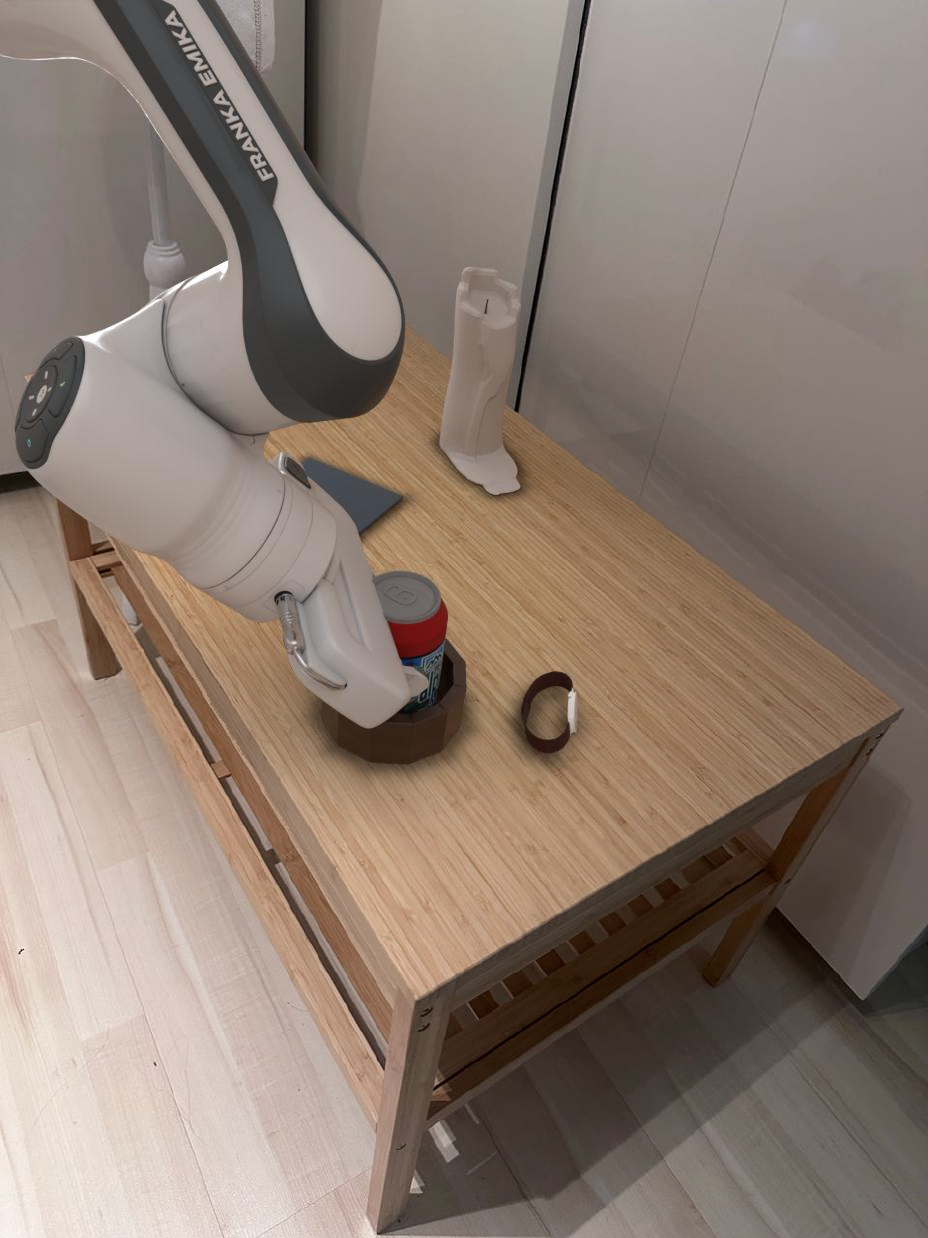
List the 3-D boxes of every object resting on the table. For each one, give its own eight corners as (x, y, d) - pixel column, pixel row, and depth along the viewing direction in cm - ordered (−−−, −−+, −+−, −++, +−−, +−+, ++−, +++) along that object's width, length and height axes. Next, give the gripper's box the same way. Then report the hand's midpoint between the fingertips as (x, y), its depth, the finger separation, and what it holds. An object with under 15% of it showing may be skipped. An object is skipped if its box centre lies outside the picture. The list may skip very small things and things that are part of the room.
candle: (478, 498, 93) (507, 316, 80) (429, 434, 102) (448, 261, 89) (537, 489, 95) (574, 312, 82) (484, 428, 105) (510, 259, 92)
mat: (237, 509, 86) (237, 505, 86) (309, 460, 94) (309, 456, 94) (337, 554, 83) (337, 550, 82) (402, 499, 91) (403, 495, 91)
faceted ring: (294, 722, 66) (294, 681, 63) (371, 644, 74) (374, 604, 71) (414, 786, 63) (420, 746, 60) (482, 697, 71) (490, 658, 68)
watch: (572, 765, 66) (582, 734, 64) (512, 752, 67) (520, 721, 64) (579, 695, 72) (588, 664, 70) (524, 683, 72) (531, 652, 70)
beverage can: (402, 756, 65) (416, 640, 57) (331, 715, 67) (335, 597, 59) (450, 704, 70) (469, 590, 62) (382, 667, 72) (392, 552, 64)
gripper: (332, 630, 47) (479, 725, 56) (282, 437, 61) (406, 538, 70) (252, 696, 48) (407, 778, 58) (221, 493, 63) (350, 585, 72)
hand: (406, 645), depth 64 cm, fingers closed on beverage can, 7 cm apart
